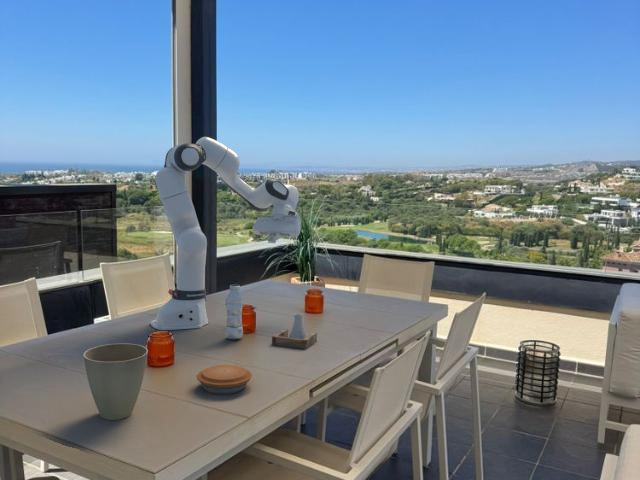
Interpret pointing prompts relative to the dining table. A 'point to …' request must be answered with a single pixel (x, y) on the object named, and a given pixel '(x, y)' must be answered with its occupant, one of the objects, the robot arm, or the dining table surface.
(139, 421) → the dining table surface
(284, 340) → the walnut bay
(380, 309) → the dining table surface
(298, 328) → the flask
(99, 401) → the plant pot
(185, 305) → the robot arm
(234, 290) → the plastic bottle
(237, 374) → the pie
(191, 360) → the dining table surface
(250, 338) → the dining table surface
